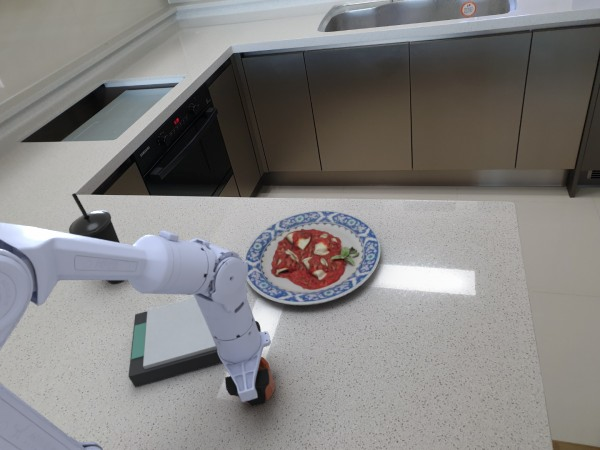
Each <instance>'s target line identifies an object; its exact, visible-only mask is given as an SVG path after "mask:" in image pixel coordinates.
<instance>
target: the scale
mask: <svg viewBox="0 0 600 450" xmlns="http://www.w3.org/2000/svg"><path fill="white" fill-rule="evenodd" d="M219 364H223V363H222V361H221V360H220V358H219V355H218V352H217V347H216V345H215V342H214V340H213V338H212V335H211V333H210V331H209V329H208V326H207V324H206V322H205V319H204V317H203V315H202V313H201V310H200V308H199V306H198V303H197V301H196V299H195V296H192V297H189V298H185V299H181V300H177V301H174V302H173V301H172V302H170V303H166V304H163V305H158V306H155V307H152V308H148V309H147V310H146V311H142V312H139V313H135V314H134V320H133V331H132V339H131V350H130V359H129V367H128V368H129V369H128V377H127V378H128V379H129V380H130V381H131V384H133V386H134V387H135V388H137V387H142V386H144V385H148V384H152V383H155V382H158V381H162V380H166V379H169V378H172V377H176V376H181V375H184V374H187V373H191V372H195V371H198V370H201V369H206V368H208V367H212V366H215V365H219Z"/></svg>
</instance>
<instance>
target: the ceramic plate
mask: <svg viewBox="0 0 600 450" xmlns="http://www.w3.org/2000/svg"><path fill="white" fill-rule="evenodd" d="M380 258H381V244H380V240H379V237H378V235H377V233H376V232H375V231H374V229H373V228H372V227H371V226H370V225H369V224H368V223H366V222H365V221H363V220H362V219H360V218H358V217H357V216H354V215H352V214H348V213H344V212H340V211H332V210H312V211H306V212H300V213H295V214H292V215H290V216H287V217H285V218H282V219H280V220H278V221H276V222H274V223H272V224H271V225H269V226H267V227H266V228H265V229H262V231H261V232H259V234H257V235H256V236H255V238H253V240H252V241H251V242H250V244H249V245H248V247H247V248H246V251H245V253H244V257H243V259H242V260H243V261H244V262H245V261H247V264H248V274H247V279H246V282H247V283H248V284H249V286H250V288H251V289H253V290H254V291H255V292H256V293H257V294H258V295H260V296H262V297H264V298H265V299H268V300H271V301H273V302H275V303H279V304H284V305H290V306H291V305H292V306H311V305H319V304H323V303H328V302H331V301H334V300H337V299H339V298H342V297H344V296H346V295H348V294H350V293H352V292H353V291H355V290H356V289H358V288H359V287H360V286H362V285H363V284H364V283H366V281H368V279H370V277H371V276H372V274H373V273H374V272H375V271H376V268H377V267H378V265H379V261H380Z"/></svg>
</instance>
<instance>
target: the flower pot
mask: <svg viewBox="0 0 600 450" xmlns="http://www.w3.org/2000/svg"><path fill="white" fill-rule="evenodd" d="M266 368H268V372H269V384H268V386H267V387H266V390H265V392H266V402H267V401H268V400H270V398H271V397H272V395H273V394H274V392H275V389H276V381H275V378H274V375H273V372H272V369H271V366H270V363H269V361H268V360H267V359H266V358H265V357H263V356H261V359H260V363H259V367H258V371H259V370H262V369H266ZM243 403H245V404H247V405H249V404H248V403H247V402H246V401H245V402H243Z"/></svg>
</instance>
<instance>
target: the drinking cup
mask: <svg viewBox="0 0 600 450" xmlns="http://www.w3.org/2000/svg"><path fill="white" fill-rule="evenodd" d="M71 196H72V198H73V200H74V202H75V203H76V205H77V207H78V209H79V210H80V213H81V214H82V215H80V216H79V217H78V218H77V219H75V220H74V221H73V222H72V223H71V224H70V225H69V228H68V233H69V234H74V235H80V236H85V237H91V238H96V239H102V240H107V241H112V242H118V243H121V242H120V239H119V237H118V234H117V232H116V229H115V227H114V225H113V222H112V214H110V212H108V211H107V210H102V209H101V210H99V209H98V210H93V211H90V212H87V210H85V208H84V205H83V204H82V202H81V200H80V199H79V197H78V195H77V193H76V192H74V193H72V194H71ZM124 281H125V280H106V282H108V283H109V284H111V285H116V284H120V283H123V282H124Z"/></svg>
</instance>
